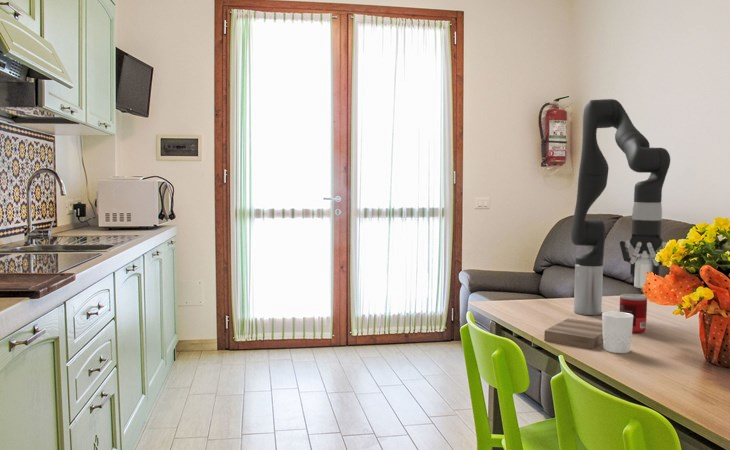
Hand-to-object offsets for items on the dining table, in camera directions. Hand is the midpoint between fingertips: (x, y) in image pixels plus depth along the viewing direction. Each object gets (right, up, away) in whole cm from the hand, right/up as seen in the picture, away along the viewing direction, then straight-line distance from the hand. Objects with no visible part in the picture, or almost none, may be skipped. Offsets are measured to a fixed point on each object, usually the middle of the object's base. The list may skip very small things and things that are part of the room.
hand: (644, 277), depth 163 cm
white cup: (-11, -20, -6) cm, 23 cm away
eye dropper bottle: (0, -3, 0) cm, 3 cm away
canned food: (+4, -18, +15) cm, 24 cm away
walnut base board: (-16, -19, +7) cm, 25 cm away
